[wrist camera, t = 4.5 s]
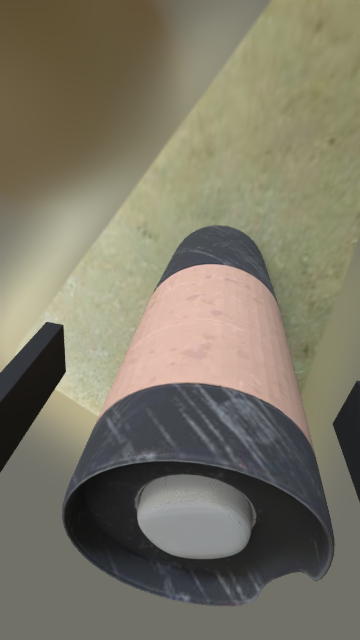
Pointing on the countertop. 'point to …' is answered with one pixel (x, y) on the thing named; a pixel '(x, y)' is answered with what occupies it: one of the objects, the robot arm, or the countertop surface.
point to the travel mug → (203, 441)
